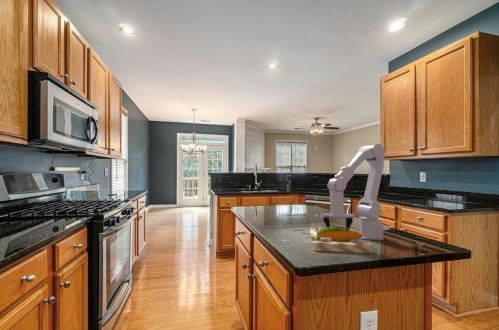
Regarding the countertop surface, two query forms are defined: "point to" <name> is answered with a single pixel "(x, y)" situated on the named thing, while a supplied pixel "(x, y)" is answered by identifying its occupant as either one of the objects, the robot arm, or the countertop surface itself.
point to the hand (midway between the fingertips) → (337, 234)
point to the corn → (338, 234)
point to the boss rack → (343, 246)
